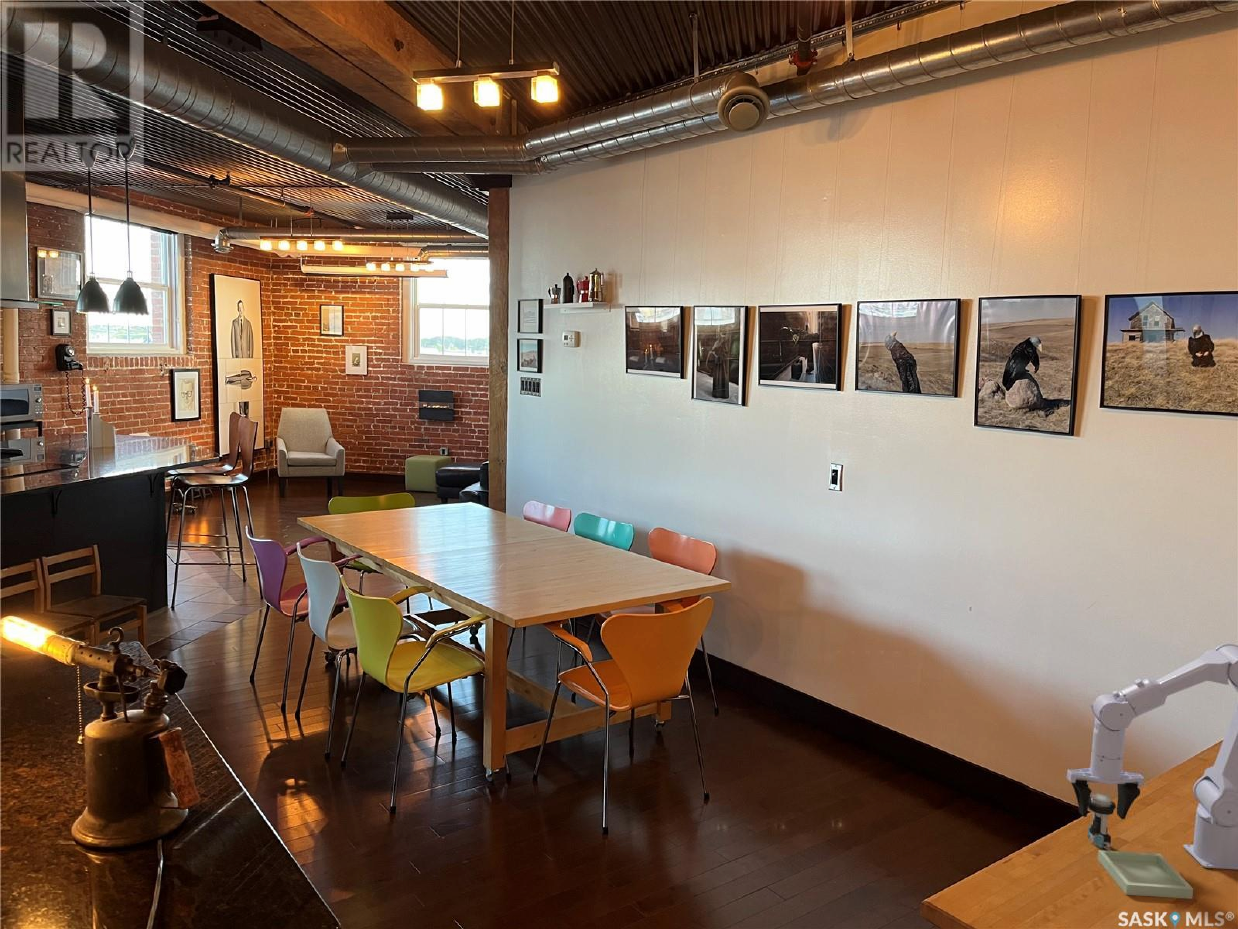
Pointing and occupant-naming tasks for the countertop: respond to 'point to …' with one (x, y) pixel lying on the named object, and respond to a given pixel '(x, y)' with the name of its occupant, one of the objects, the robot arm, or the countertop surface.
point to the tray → (1144, 874)
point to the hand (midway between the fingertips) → (1101, 815)
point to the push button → (1100, 820)
